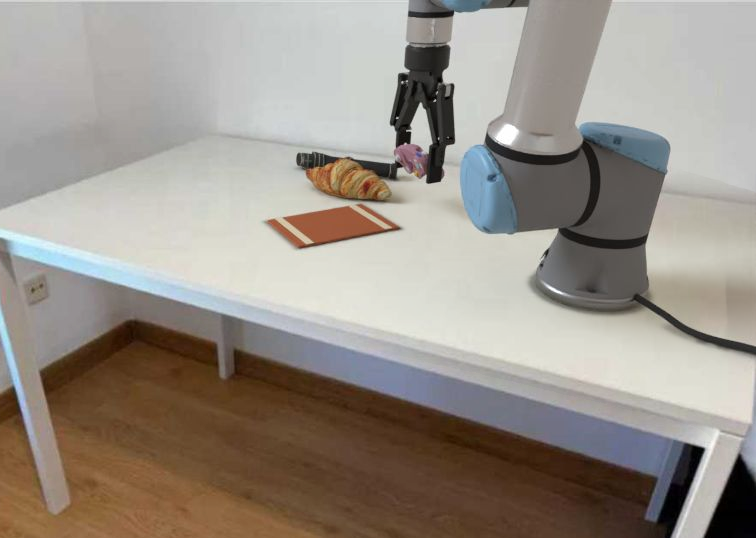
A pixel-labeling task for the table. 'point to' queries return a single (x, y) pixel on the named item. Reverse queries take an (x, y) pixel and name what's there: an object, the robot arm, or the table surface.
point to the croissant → (348, 181)
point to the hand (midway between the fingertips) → (417, 174)
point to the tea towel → (331, 225)
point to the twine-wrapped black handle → (323, 159)
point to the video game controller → (413, 159)
